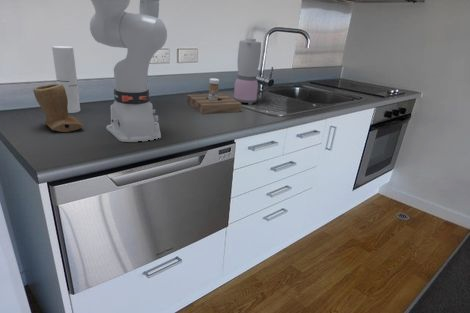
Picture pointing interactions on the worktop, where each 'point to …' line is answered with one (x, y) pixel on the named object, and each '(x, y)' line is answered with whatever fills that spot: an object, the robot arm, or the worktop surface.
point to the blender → (247, 71)
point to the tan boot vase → (56, 107)
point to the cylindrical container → (67, 75)
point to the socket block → (213, 104)
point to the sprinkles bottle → (213, 89)
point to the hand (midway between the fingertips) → (148, 31)
